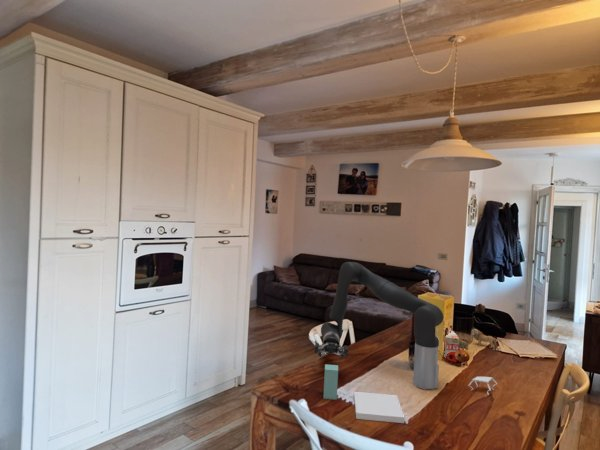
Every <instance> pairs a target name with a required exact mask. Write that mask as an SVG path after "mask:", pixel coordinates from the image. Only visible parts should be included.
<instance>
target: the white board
mask: <svg viewBox="0 0 600 450" xmlns="http://www.w3.org/2000/svg"><path fill="white" fill-rule="evenodd" d="M353 400H354V401H353V402H354V411H355V419H357V420H363V421H375V422H376V421H377V422H388V423H399V424H405V420H406V419H405V415H404V412H403V409H402V405H401V404H400V401H399V398H398V395H397V394H387V393H386V394H385V393H376V392H364V391H353Z"/></svg>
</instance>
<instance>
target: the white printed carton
mask: <svg viewBox="0 0 600 450" xmlns="http://www.w3.org/2000/svg"><path fill="white" fill-rule="evenodd" d="M450 331H451V333H449V334H448V335H446V336H445V351H444V353H445V354H444V357H445V358H446V356H447V354H448V353H450V352H456V351H457V352H458V353H459V350H460V338H459V336H458V334H457V333H455V331H454V330H450Z"/></svg>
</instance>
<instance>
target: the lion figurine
mask: <svg viewBox="0 0 600 450" xmlns="http://www.w3.org/2000/svg"><path fill="white" fill-rule="evenodd" d="M471 336H472V337H473V338H474V339H475V341H477V346H478V347H480V346H481V345H482V342H484V343H489V345H490V346H489V348H490V349H492V351H495V350H496V349H497V350H500V348H498V346H497V342H496V338H494V337H493V336H491V335H485V334H484V332H482V331H480V330H479V329H477V328H472V329H471Z"/></svg>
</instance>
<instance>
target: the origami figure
mask: <svg viewBox="0 0 600 450" xmlns="http://www.w3.org/2000/svg"><path fill="white" fill-rule="evenodd" d="M490 381H493V383H494V384H493V385H492V386H490ZM473 382H474V383H475V384H476V385H475V386H476V387H475V388H476V389H477V388H478V387H479V385H478V382H480V383H485V384H486V385H487V388H488V390H487V391H486V393H487V395H488V396H489V395H490V393H489V392H490V391H492V390H493V391H494V390H495V389H494V388H493V387H496V385H498V383H497V381H496V380H495V379H494V377H491V376H475V377H474V378H472V379H471V381H470V382H469V383H468V385H467V386H468V387H469V388H471V391H473V390H474V388H473V387H472V386H471V385H472V384H473Z"/></svg>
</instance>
